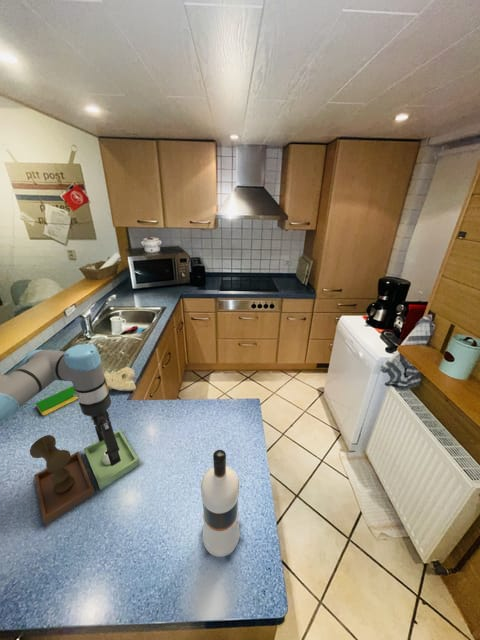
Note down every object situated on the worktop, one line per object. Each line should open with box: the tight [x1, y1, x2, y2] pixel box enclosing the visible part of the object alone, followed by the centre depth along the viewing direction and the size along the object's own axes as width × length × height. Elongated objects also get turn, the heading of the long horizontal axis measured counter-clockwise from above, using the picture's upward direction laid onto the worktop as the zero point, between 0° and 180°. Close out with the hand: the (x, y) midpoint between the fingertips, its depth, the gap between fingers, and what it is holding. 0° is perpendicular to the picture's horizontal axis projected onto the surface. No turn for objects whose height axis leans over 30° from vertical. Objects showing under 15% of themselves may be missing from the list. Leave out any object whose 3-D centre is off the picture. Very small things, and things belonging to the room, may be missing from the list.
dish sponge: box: [35, 386, 78, 416], centre depth 103 cm, size 7×14×2 cm, turn 141°
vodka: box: [200, 449, 241, 558], centre depth 57 cm, size 9×9×30 cm
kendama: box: [29, 434, 75, 494], centre depth 68 cm, size 6×10×20 cm, turn 59°
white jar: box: [102, 450, 120, 465], centre depth 80 cm, size 5×3×5 cm
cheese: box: [103, 366, 137, 392], centre depth 111 cm, size 15×7×15 cm
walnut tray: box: [33, 451, 96, 526], centre depth 72 cm, size 16×12×3 cm
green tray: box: [83, 429, 141, 491], centre depth 81 cm, size 16×12×3 cm
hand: (109, 450), depth 79 cm, fingers open, 11 cm apart
